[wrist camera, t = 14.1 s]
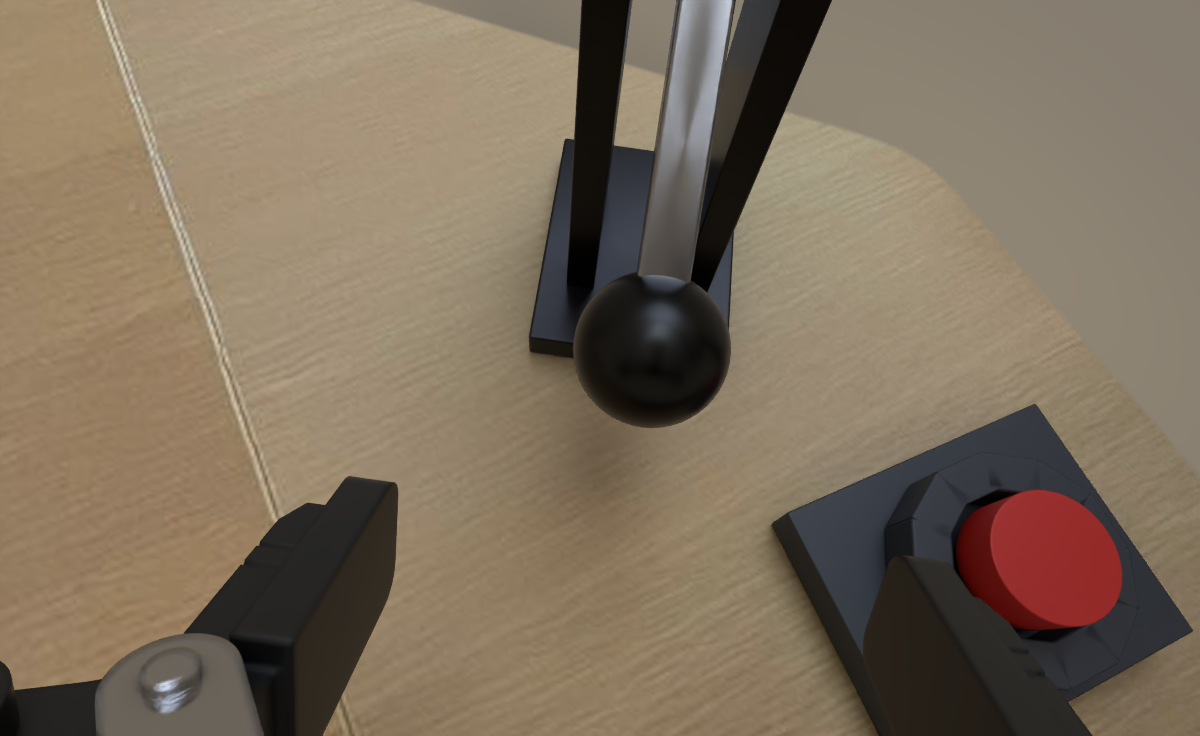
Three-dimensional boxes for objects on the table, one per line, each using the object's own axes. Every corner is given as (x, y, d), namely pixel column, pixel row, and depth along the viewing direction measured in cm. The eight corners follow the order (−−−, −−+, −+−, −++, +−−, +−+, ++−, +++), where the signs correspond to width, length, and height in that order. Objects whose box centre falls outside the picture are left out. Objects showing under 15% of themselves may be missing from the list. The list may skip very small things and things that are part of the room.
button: (1027, 485, 21) (1066, 470, 20) (1102, 599, 20) (1151, 593, 18) (931, 531, 21) (964, 519, 19) (1003, 652, 19) (1045, 650, 18)
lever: (705, 417, 17) (729, 458, 14) (567, 398, 17) (558, 434, 14) (804, -172, 15) (862, -294, 12) (648, -196, 15) (660, -326, 12)
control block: (1006, 419, 26) (1071, 383, 22) (1150, 634, 23) (1248, 627, 20) (771, 523, 23) (806, 499, 20) (899, 774, 21) (964, 792, 17)
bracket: (719, 378, 25) (984, -70, 10) (529, 352, 25) (504, -143, 10) (730, 181, 29) (937, -368, 14) (563, 157, 29) (585, -424, 14)
